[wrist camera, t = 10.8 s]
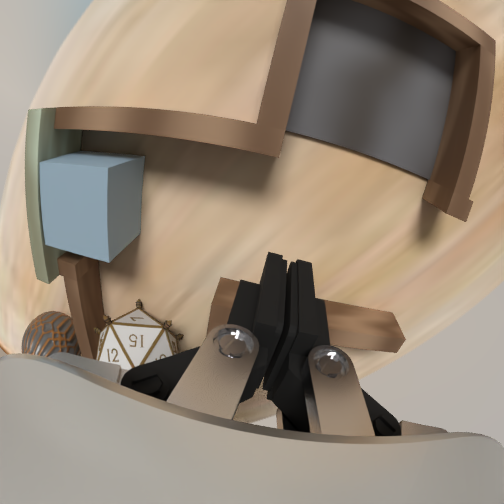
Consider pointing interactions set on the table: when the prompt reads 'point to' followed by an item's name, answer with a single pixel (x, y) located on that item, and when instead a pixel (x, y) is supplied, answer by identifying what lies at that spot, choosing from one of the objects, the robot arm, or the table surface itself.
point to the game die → (135, 339)
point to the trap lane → (312, 130)
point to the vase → (50, 335)
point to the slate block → (91, 202)
